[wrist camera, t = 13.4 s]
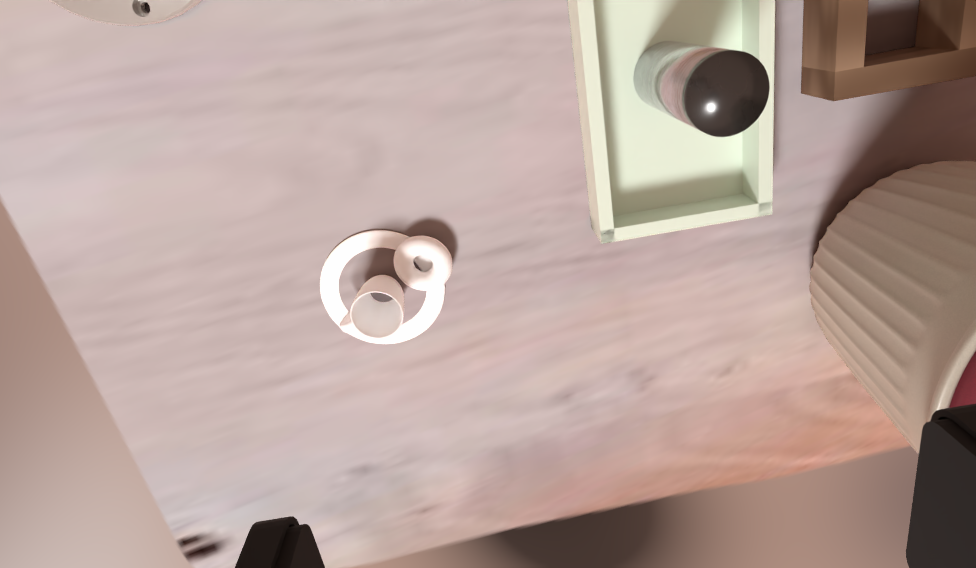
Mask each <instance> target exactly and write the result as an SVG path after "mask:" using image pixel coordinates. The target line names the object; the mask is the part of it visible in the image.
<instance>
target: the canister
mask: <svg viewBox="0 0 976 568" xmlns="http://www.w3.org/2000/svg"><path fill="white" fill-rule="evenodd" d="M813 259H814V263H813V267H812V268H811V270H810V275H811V282H810V285H809V289H810V292H811V295H812V296H811V304H812V307H813V309H814V311H815V317H816V320H817V322H818V324H819V326H820V328H821V329H822V331H823V333H824V335H825V337H826V339H827V340H828V341H829V343H830V344H831V346H832V347H833V348H834V350H835V351H836V352H837V354H838V355H839V356H840V358H841V359H842V360H843V362H844V363H845V364H846V366H847V367H848V368H849V369H850V371H851V372H852V373H853V375H854V376H855V377H856V379H857V380H858V381H859V382H860V384H861V385H862V386H863V387H864V389H865V390H866V391H867V392H868V393H869V395H870V396H871V397H872V398H873V400H874V401H875V402H876V403H877V404H878V406H879V407H880V408H881V409H882V410H883V412H884V413H885V414H886V415H887V417H888V418H889V419H890V420H891V421H892V423H893V424H894V425H895V426H896V428H897V429H898V430H899V431H900V433H901V434H902V435H903V436H904V437H905V439H906V440H907V441H908V442H909V444H910V445H911V446H912V447H913V449H914V450H915V451H916V452H917V453H918V454H919V450H920V442H921V435H922V429H923V425H924V424H925V423H926V422H929V421H931V417H932V415H933V413H934V412H935V411H937V410H940V409H945V408H951V407H957V406H963V405H969V404H975V403H976V161H939V162H934V163H931V164H920V165H916V166H913V167H911V168H910V169H906V170H900V171H897V172H895V173H894V174H892V175H891V176H889V177H887V178H883V179H880V180H878V181H877V182H876V183H875V184H874V185H873V186H871V187H869V188H866V189H864V190H863V191H862V192H861V193H860V194H859V195H858V196H857V197H856V198H854V199H852V200H850V201H849V202H848V204H847V206H846V207H845V208H844V209H843V210H842V211H841V212H839V213H837V216H836V218H835V219H834V221H833V222H832V223H831V225H829V226H828V227H827V231H826V233H825V235H824V237H823V238H822V239H821V240H820V241H819V247H818V250H817V252H816V254H815V255H814V257H813Z"/></svg>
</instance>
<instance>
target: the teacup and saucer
mask: <svg viewBox="0 0 976 568" xmlns="http://www.w3.org/2000/svg"><path fill="white" fill-rule="evenodd" d="M371 248H390V249H394V250H396V251H395V254H394V268H395V271H396V273H397V275H398V277H399V278H400V279H401V280H402V281H403V282H404V283H405V284H406V285H408V286H409V287H411V288H414V289H417V290H427V293H426V299H425V302H424V304H423V306H422V308H421V310H420V311H419V312H418V314H417V315H416V316H415V317H414V318H412V319H411V320H410V321H408V322H406V323H404V324H402V322H403V317H404V294H403V290H402V288H401V286H400V284H399V283H398V282H397V281H396V280H395V279H394V278H392V277H390V276H387V275H377V276H374V277H372V278H370V279H369V280H368V281H367V282H365V283H364V285H363V286H362V287H361V289H360V290H359V292H358V294H357V295H356V297H355V299H354V301H353V304H352V306H351V310H350V311H349V312H348V310H347V309H346V308H345V306H344V305H343V303H342V301H341V298H340V294H339V278H340V274H341V272H342V269H343V268H344V266H345V265H346V263H347V262H348V261H349V260H350V259H351V258H352V257H353V256H355V255H356V254H358V253H360V252H362V251H364V250H367V249H371ZM413 260H414V261H415V262H416V263H417V265H418V266H419V267H420V269H421V270H422V271H420V270H418V269H416V268H415V265H414V262H413ZM451 272H452V257H451V254H450V253H449V251H448V249H447V248H446V247H445V246H444V245H443V244H442V243H441V242H440V241H438V240H437V239H435V238H432V237H429V236H413V237H409V236H406V235H404V234H401V233H397V232H393V231H387V230H373V231H366V232H362V233H359V234H356V235H353V236H351V237H349V238H347V239H346V240H344V241H343V242H341V243H340V244H339V245H338V246H337V247H336V248H335V249H334V250H333V251H332V252H331V253H330V255H329V256H328V258H327V259H326V261H325V263H324V266H323V268H322V272H321V276H320V293H321V298H322V301H323V304H324V306H325V308H326V310H327V312H328V314H329V315H330V317H331V318H332V319H333V321H334V322H335V323H336V324H337V325H338V326H339V327H340V328H341V330H342V331H343V332H345V333H348V334H350V335H352V336H354V337H356V338H358V339H361V340H363V341H367V342H371V343H377V344H394V343H400V342H403V341H407V340H409V339H412V338H414V337H416V336H418V335H419V334H421V333H422V332H424V331H425V330H426V329H427V328H428V327H429V326H430V325H431V324H432V323H433V322H434V321H435V319H436V318H437V316H438V315H439V313H440V311H441V308H442V305H443V302H444V296H445V282H446V281H447V280H448V278H449V277H450V275H451ZM372 292H379V293H384V294H387V295H389V296H390V297H392V298H393V299H392V300H390V301H388V302H379V301H377V300H375V299H374V298H373V297H372V295H371V293H372ZM401 324H402V325H401Z"/></svg>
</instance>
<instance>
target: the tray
mask: <svg viewBox="0 0 976 568" xmlns="http://www.w3.org/2000/svg"><path fill="white" fill-rule="evenodd" d="M567 2H568V12H569V21H570V30H571V40H572V49H573V58H574V68H575V77H576V87H577V96H578V105H579V115H580V124H581V133H582V143H583V152H584V162H585V171H586V180H587V190H588V199H589V208H590V218H591V227H592V229H593V231H594V232H595V234H596V236H597V237H598V239H599V240H600V242H601V244H604V243H609V242H615V241H621V240H627V239H633V238H638V237H644V236H650V235H656V234H661V233H667V232H673V231H679V230H685V229H690V228H696V227H702V226H708V225H713V224H719V223H725V222H731V221H737V220H742V219H748V218H754V217H760V216H766V215H771V214H772V193H773V119H774V46H775V0H567ZM663 41H676V42H683V43H689V44H696V45H703V46H710V47H717V48H724V49H731V50H737V51H743V52H746V53H749V54H751V55H753V56H754V57H756V58H757V59H758V60H759V61H760V62H761V63H762V64H763V66H764V67H765V69H766V71H767V74H768V78H769V86H770V89H769V97H768V101H767V104H766V106H765V108H764V110H763V112H762V114H761V115H760V117H759V118H758V119H757V120H756V121H755V122H754V123H753V124H752V125H751V126H750V127H749V128H747V129H746V130H744V131H742V132H741V133H738V134H736V135H733V136H729V137H715V136H711V135H708V134H706V133H704V132H702V131H700V130H698V129H696V128H694V127H692V126H690V125H688V124H686V123H684V122H682V121H680V120H678V119H676V118H674V117H672V116H670V115H668V114H666V113H664V112H662V111H660V110H658V109H656V108H654V107H652V106H650V105H648V104H646V103H645V102H643V101H642V100H641V99H640V97H639V96H638V94H637V93H636V90H635V87H634V82H633V75H634V69H635V66H636V63H637V61H638V59H639V58H640V56H641V55H642V54H643V53H644V52H645V51H646V50H647V49H648V48H649V47H651V46H652V45H654V44H656V43H659V42H663Z"/></svg>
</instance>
